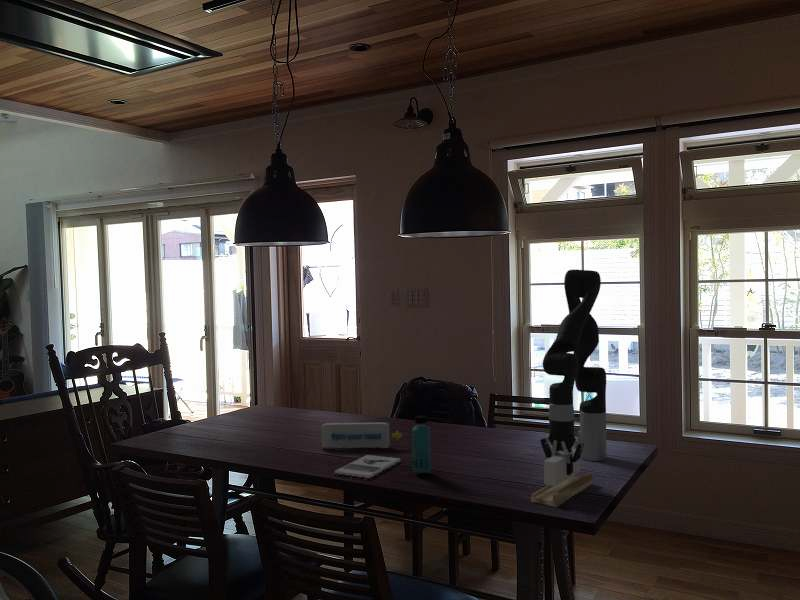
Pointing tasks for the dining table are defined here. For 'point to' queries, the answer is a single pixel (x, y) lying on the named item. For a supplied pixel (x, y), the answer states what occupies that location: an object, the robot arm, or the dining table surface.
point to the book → (368, 466)
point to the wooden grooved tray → (561, 491)
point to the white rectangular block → (558, 469)
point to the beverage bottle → (421, 446)
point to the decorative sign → (356, 435)
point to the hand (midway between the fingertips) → (562, 473)
